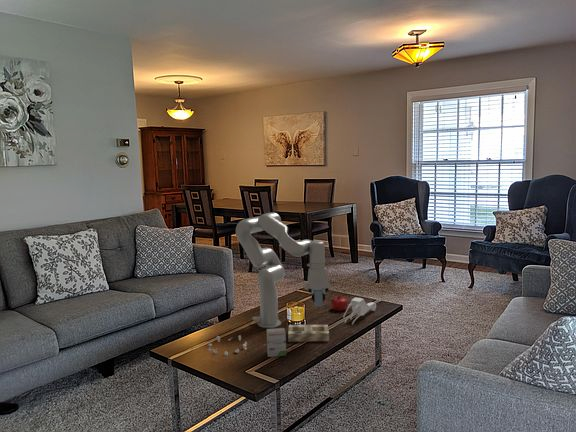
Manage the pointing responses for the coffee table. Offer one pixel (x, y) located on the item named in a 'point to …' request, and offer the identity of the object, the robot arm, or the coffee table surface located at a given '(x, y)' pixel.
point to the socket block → (308, 333)
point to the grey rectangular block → (318, 297)
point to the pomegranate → (339, 303)
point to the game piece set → (226, 352)
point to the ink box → (276, 342)
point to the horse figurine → (359, 308)
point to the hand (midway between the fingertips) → (318, 300)
